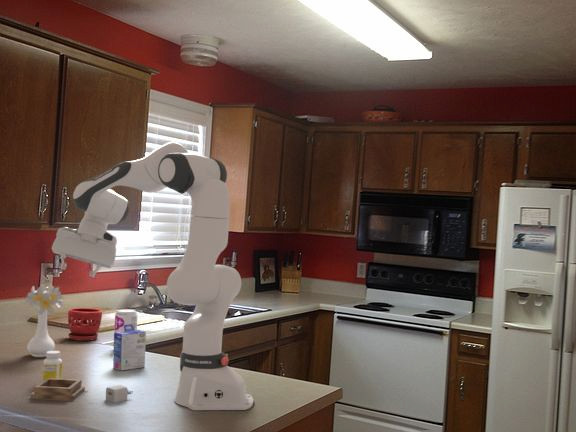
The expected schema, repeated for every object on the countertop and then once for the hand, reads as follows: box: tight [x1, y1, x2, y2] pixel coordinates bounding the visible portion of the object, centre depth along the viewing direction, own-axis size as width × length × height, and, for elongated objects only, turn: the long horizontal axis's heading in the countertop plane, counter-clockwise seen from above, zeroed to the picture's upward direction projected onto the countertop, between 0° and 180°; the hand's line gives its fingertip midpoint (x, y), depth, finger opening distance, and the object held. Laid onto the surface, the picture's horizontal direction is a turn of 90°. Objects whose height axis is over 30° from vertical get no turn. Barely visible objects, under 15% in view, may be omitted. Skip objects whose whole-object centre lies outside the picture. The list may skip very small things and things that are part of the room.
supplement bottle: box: [42, 350, 63, 381], centre depth 207 cm, size 5×5×10 cm
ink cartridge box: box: [112, 324, 147, 372], centre depth 233 cm, size 10×6×14 cm, turn 137°
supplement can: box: [113, 308, 138, 334], centre depth 261 cm, size 8×8×15 cm
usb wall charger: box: [105, 384, 134, 403], centre depth 194 cm, size 4×7×4 cm, turn 140°
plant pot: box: [67, 307, 103, 341], centre depth 278 cm, size 13×13×12 cm
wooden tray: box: [29, 378, 86, 401], centre depth 195 cm, size 12×10×3 cm
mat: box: [26, 390, 89, 402], centre depth 195 cm, size 14×11×1 cm
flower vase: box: [23, 283, 65, 358], centre depth 244 cm, size 13×18×25 cm
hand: (77, 272), depth 222 cm, fingers open, 8 cm apart
